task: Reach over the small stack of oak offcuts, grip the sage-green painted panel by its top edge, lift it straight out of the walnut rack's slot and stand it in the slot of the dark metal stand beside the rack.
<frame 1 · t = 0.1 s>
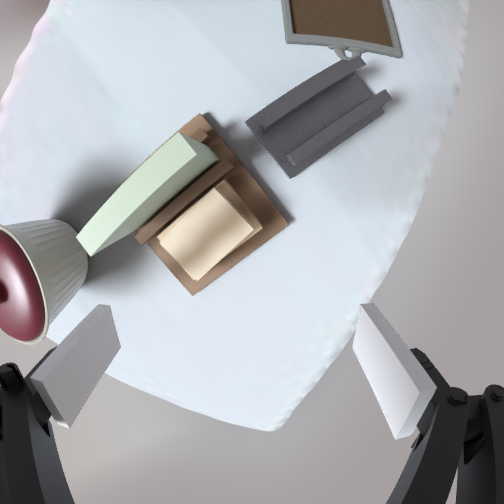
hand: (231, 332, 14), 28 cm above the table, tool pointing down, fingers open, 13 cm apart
stand: (316, 115, 36), on the table
rack: (195, 206, 40), on the table
offcut upper: (207, 231, 37), point 4 cm above the table, touching offcut lower
offcut lower: (210, 228, 39), point 1 cm above the table, touching offcut upper, rack
canister: (65, 253, 42), on the table
panel: (176, 186, 37), point 1 cm above the table, touching rack
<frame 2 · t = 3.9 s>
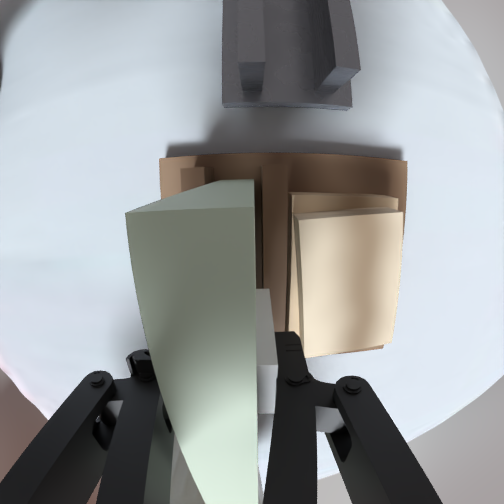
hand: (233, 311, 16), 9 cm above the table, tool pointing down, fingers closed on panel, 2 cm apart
stand: (282, 18, 17), on the table
rack: (287, 261, 24), on the table
offcut upper: (343, 277, 20), point 4 cm above the table, touching offcut lower
offcut lower: (335, 266, 22), point 1 cm above the table, touching offcut upper, rack
canister: (204, 435, 31), on the table
panel: (239, 268, 22), point 2 cm above the table, touching gripper, rack
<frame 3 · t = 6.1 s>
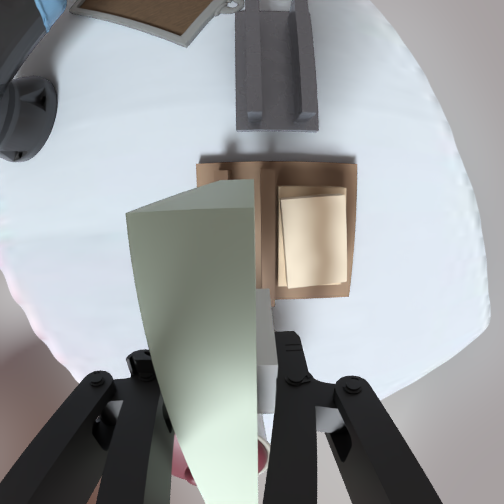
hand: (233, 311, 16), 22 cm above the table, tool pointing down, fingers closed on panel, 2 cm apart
stand: (274, 67, 30), on the table
rack: (278, 231, 36), on the table
offcut upper: (312, 237, 32), point 4 cm above the table, touching offcut lower
offcut lower: (308, 233, 35), point 1 cm above the table, touching offcut upper, rack
canister: (215, 377, 44), on the table
panel: (239, 268, 22), point 15 cm above the table, touching gripper
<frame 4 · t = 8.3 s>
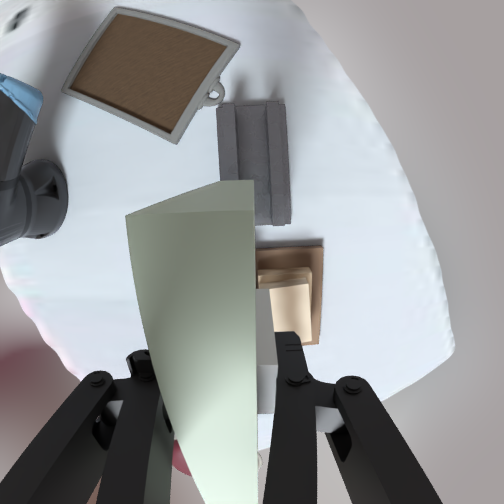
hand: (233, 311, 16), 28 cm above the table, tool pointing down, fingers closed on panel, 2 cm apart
stand: (253, 164, 40), on the table
rack: (261, 300, 47), on the table
offcut upper: (285, 309, 43), point 4 cm above the table, touching offcut lower
grey brown flat board: (147, 68, 36), on the table
offcut lower: (284, 302, 45), point 1 cm above the table, touching offcut upper, rack
canister: (219, 400, 54), on the table
panel: (239, 269, 22), point 21 cm above the table, touching gripper
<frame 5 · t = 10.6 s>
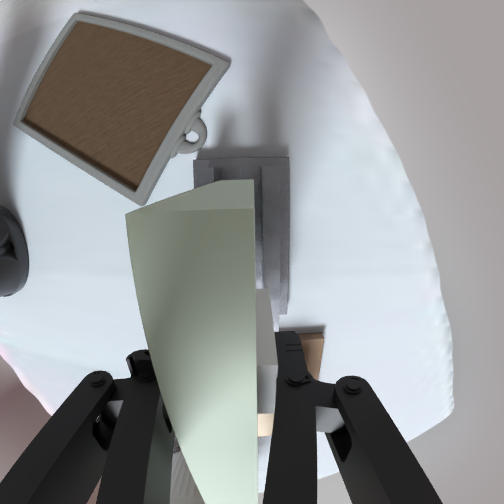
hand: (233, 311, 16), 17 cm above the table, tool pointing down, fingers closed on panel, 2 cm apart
stand: (243, 238, 32), on the table
rack: (248, 384, 38), on the table
offcut upper: (275, 401, 34), point 4 cm above the table, touching offcut lower
grey brown flat board: (108, 95, 27), on the table
canister: (203, 458, 46), on the table
panel: (239, 269, 22), point 10 cm above the table, touching gripper
when the fingers open (10 cm above the table, at t = 12.6 s): panel drops 1 cm, resting on stand.
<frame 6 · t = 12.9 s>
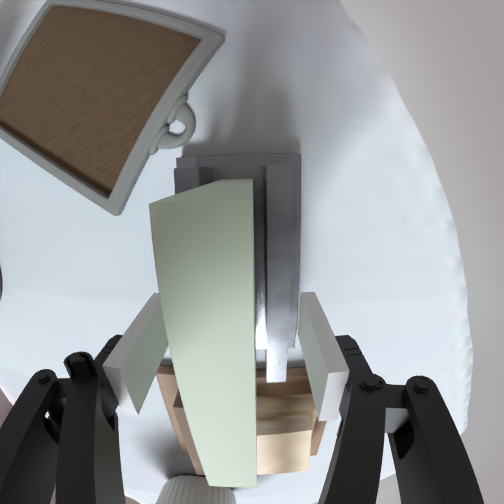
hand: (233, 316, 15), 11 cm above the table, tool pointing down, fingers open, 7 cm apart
stand: (241, 257, 25), on the table
rack: (247, 418, 32), on the table
offcut upper: (278, 440, 28), point 4 cm above the table, touching offcut lower
grey brown flat board: (80, 83, 21), on the table
offcut lower: (277, 425, 30), point 1 cm above the table, touching offcut upper, rack
canister: (200, 484, 39), on the table
panel: (239, 262, 24), point 2 cm above the table, touching stand
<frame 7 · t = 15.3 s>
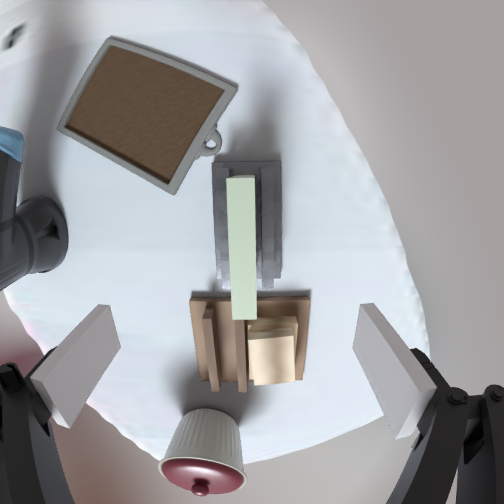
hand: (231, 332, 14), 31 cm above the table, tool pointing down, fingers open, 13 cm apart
stand: (247, 220, 43), on the table
rack: (250, 341, 49), on the table
offcut upper: (272, 353, 45), point 4 cm above the table, touching offcut lower
grey brown flat board: (143, 110, 38), on the table
offcut lower: (271, 345, 48), point 1 cm above the table, touching offcut upper, rack
canister: (210, 421, 57), on the table
panel: (246, 222, 41), point 1 cm above the table, touching stand
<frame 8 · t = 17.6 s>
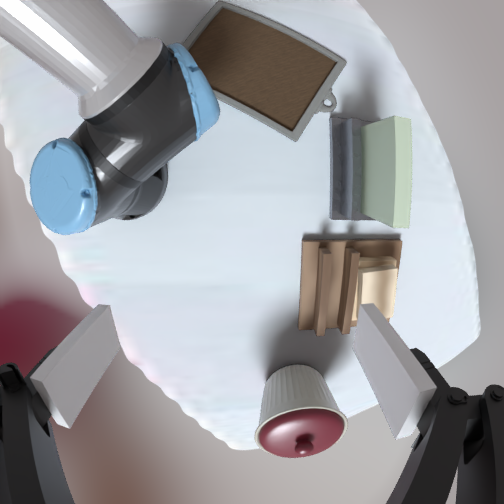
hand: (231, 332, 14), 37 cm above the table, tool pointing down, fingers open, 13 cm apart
stand: (356, 169, 46), on the table
rack: (349, 284, 52), on the table
offcut upper: (374, 291, 48), point 4 cm above the table, touching offcut lower
grey brown flat board: (261, 67, 42), on the table
offcut lower: (369, 286, 51), point 1 cm above the table, touching offcut upper, rack
canister: (293, 381, 60), on the table
panel: (359, 169, 45), point 1 cm above the table, touching stand
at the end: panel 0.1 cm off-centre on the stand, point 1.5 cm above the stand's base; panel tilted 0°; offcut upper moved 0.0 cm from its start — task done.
